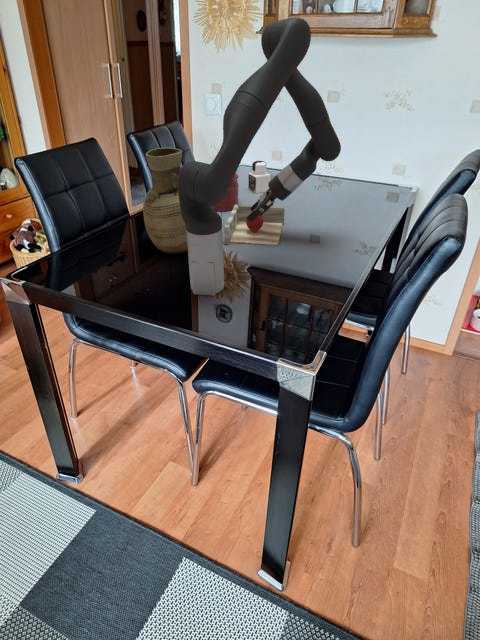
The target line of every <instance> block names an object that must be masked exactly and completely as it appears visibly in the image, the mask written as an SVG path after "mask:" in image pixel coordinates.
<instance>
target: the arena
mask: <svg viewBox="0 0 480 640" xmlns="http://www.w3.org/2000/svg"><path fill="white" fill-rule="evenodd" d="M253 205H254V204H253ZM253 205H250V204H249V205H248V204H238V205H235V206H234V208H233V210H231V212H230V214H229V216H228V218H227V220H226V223H225V225H224V229H223V230H224V232H223V233H224V245H230V244H238V243H251V244H250V245H255V244H266V245H265V246H273V245H277V246H279V242H280V238H281V232H282V227H283V225H284V224H285V206H278V205H277V206H274V205H273V206H271V207H270V208H269V209H268V210H267V211H266V212H265V213H264V214H262V218H263V226H262V227H261V228H260V229H259V230H258V231H256V232H253V231H251V230H250V229H249V228H248V227H247V224H246V220H247V216H248V215H249V214H250V213H252V212H253V211H252V210H251V207H252V206H253ZM259 210H260V211H262V208H260V209H259ZM229 243H230V244H229Z"/></svg>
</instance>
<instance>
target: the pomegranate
mask: <svg viewBox="0 0 480 640" xmlns="http://www.w3.org/2000/svg"><path fill="white" fill-rule="evenodd" d="M246 224H247V227H248V228H249V229H250V230H251V231H253V232H256V231H258V230H259V229H260V228H261V227H262V226H263V218H262V216H258V217H257V218H255V219H254V220H253V221H252V222H250V221H249V220H248V219H247V220H246Z"/></svg>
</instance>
